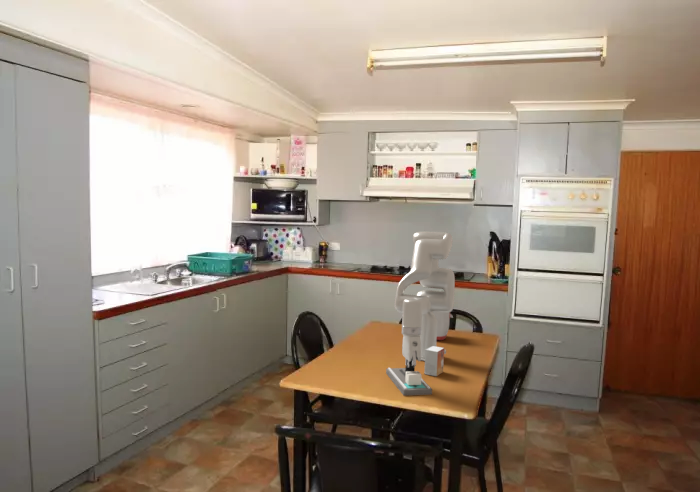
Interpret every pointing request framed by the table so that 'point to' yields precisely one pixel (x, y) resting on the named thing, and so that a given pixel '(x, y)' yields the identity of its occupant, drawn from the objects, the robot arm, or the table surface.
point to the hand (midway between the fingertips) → (409, 376)
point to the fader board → (399, 380)
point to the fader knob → (413, 378)
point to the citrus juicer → (442, 324)
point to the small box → (434, 360)
